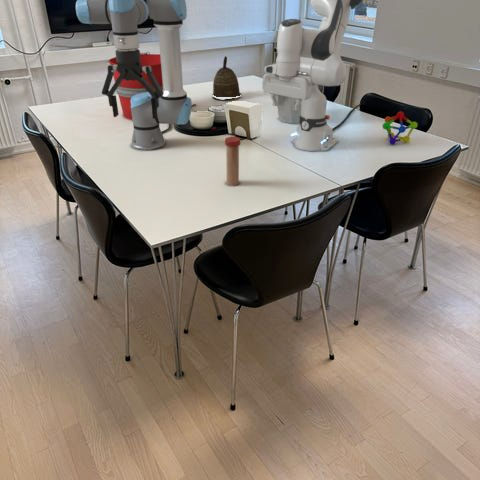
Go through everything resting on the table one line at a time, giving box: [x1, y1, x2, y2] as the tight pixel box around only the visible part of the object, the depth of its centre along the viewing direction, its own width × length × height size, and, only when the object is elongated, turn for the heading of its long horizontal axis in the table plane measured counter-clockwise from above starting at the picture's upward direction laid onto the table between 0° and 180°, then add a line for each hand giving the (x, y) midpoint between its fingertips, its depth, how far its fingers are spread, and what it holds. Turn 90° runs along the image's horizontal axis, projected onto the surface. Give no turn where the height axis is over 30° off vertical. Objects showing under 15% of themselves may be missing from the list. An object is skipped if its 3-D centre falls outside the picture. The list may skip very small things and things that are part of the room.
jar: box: [225, 145, 240, 187], centre depth 167 cm, size 5×5×17 cm
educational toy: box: [382, 110, 418, 145], centre depth 207 cm, size 16×13×15 cm
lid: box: [224, 136, 241, 147], centre depth 162 cm, size 6×6×2 cm
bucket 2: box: [270, 61, 325, 125], centre depth 235 cm, size 30×30×28 cm
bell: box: [212, 56, 242, 97], centre depth 278 cm, size 19×26×20 cm
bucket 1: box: [105, 51, 163, 121], centre depth 241 cm, size 35×35×30 cm
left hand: (135, 116), depth 150 cm, fingers open, 13 cm apart
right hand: (285, 107), depth 168 cm, fingers open, 8 cm apart
